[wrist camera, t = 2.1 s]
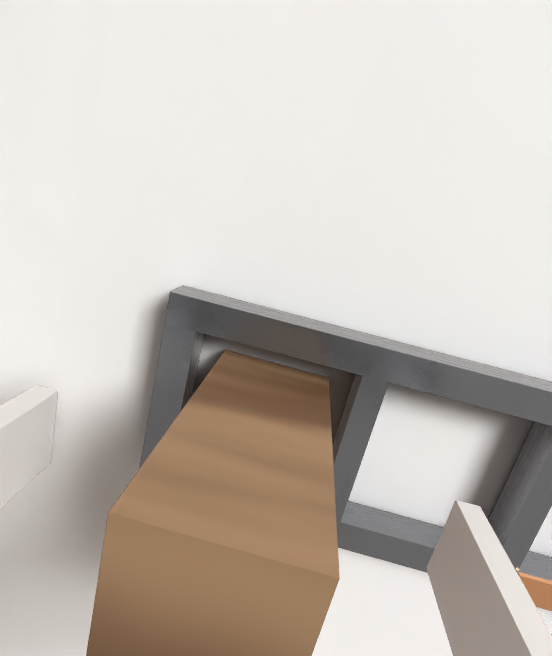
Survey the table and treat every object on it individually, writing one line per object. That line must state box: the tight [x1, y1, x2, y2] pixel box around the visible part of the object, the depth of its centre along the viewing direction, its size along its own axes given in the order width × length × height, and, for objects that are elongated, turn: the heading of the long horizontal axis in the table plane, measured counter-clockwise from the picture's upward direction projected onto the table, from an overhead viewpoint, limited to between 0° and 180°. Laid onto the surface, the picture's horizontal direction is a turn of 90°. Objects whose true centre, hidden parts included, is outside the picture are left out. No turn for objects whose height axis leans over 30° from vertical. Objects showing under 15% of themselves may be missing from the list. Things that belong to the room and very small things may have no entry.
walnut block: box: [86, 350, 339, 656], centre depth 13 cm, size 4×4×10 cm
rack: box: [140, 285, 552, 611], centre depth 17 cm, size 9×24×2 cm, turn 76°
